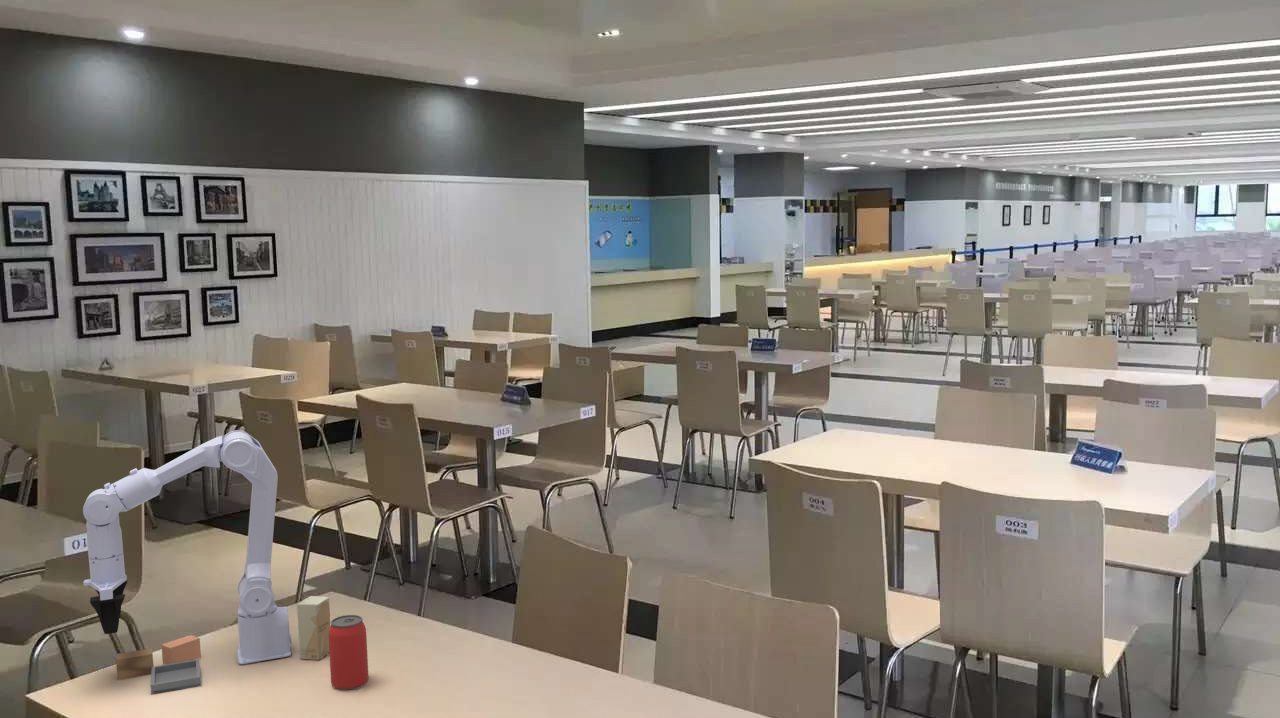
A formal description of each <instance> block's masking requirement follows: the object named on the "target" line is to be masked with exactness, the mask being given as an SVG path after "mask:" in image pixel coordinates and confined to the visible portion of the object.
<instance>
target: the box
mask: <svg viewBox="0 0 1280 718" xmlns="http://www.w3.org/2000/svg"><path fill="white" fill-rule="evenodd" d="M296 605H297V621H298V622H297V628H298V629H297V630H298V644H299V645H298V647H299V659H301V660H315V661H320V660H321V659H322V658H324V657H325V656H327V655H328V654H329V636H328V634H329V629H330V626H331V613H330V597H329V596H318V595H310V596H308V597H306V598H305V599H303V600H301V601H300V602H299V603H297V604H296Z"/></svg>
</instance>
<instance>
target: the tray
mask: <svg viewBox="0 0 1280 718" xmlns="http://www.w3.org/2000/svg"><path fill="white" fill-rule="evenodd" d="M200 662H201V661H200V658H198V659H195V660H190V661H184V662H178V663H172V664H166V665H164V664H161V665H160V664H159V665H155V666H154V665H153V667H152V671H151V675H150V676H151V677H150V692H151V693H150V695H157V694H161V693H162V694H163V693H167V692H173V691H178V690H180V691H181V690H184V689H189V688H196V687H201V665H200V664H201V663H200Z"/></svg>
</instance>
